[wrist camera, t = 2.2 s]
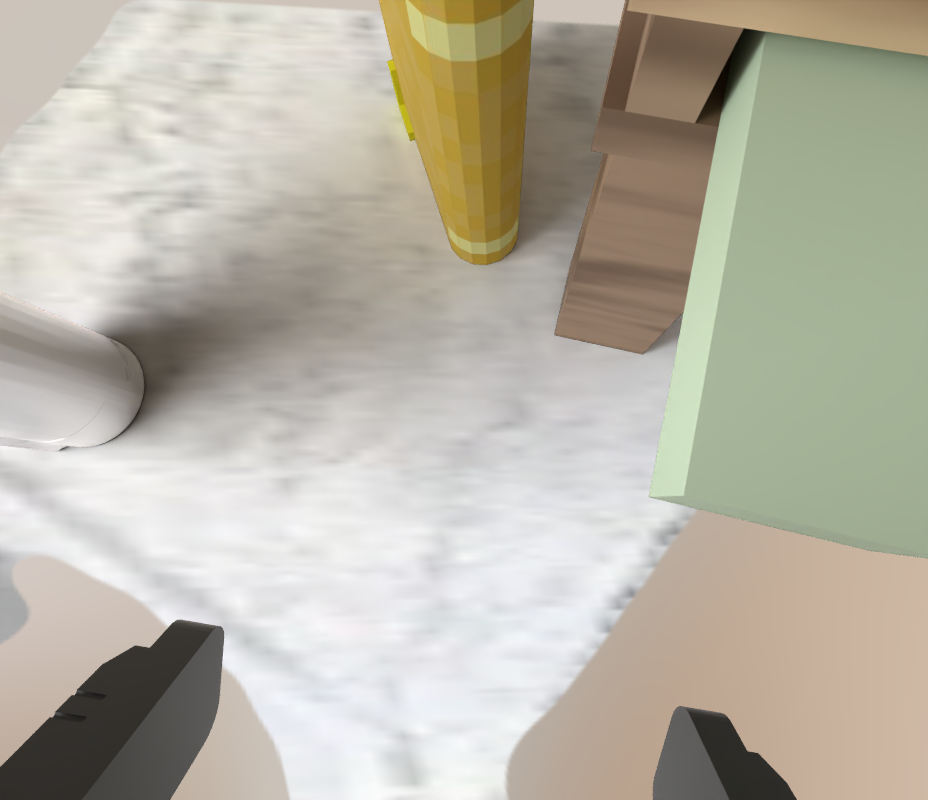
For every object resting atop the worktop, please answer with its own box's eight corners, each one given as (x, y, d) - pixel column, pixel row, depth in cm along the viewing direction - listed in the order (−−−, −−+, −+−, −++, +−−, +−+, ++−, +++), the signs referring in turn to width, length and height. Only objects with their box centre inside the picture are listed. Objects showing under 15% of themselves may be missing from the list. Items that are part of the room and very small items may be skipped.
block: (870, 550, 10) (960, 562, 8) (648, 497, 10) (684, 495, 8) (961, -215, 13) (1044, -344, 11) (786, -234, 13) (835, -360, 11)
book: (398, 103, 48) (293, -307, 24) (470, 80, 48) (441, -355, 24) (454, 275, 45) (400, 3, 21) (532, 250, 45) (572, -53, 21)
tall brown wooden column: (643, 418, 42) (2026, -385, 4) (527, 392, 43) (749, -463, 5) (670, 280, 44) (1784, -1167, 6) (559, 257, 45) (894, -1115, 7)
